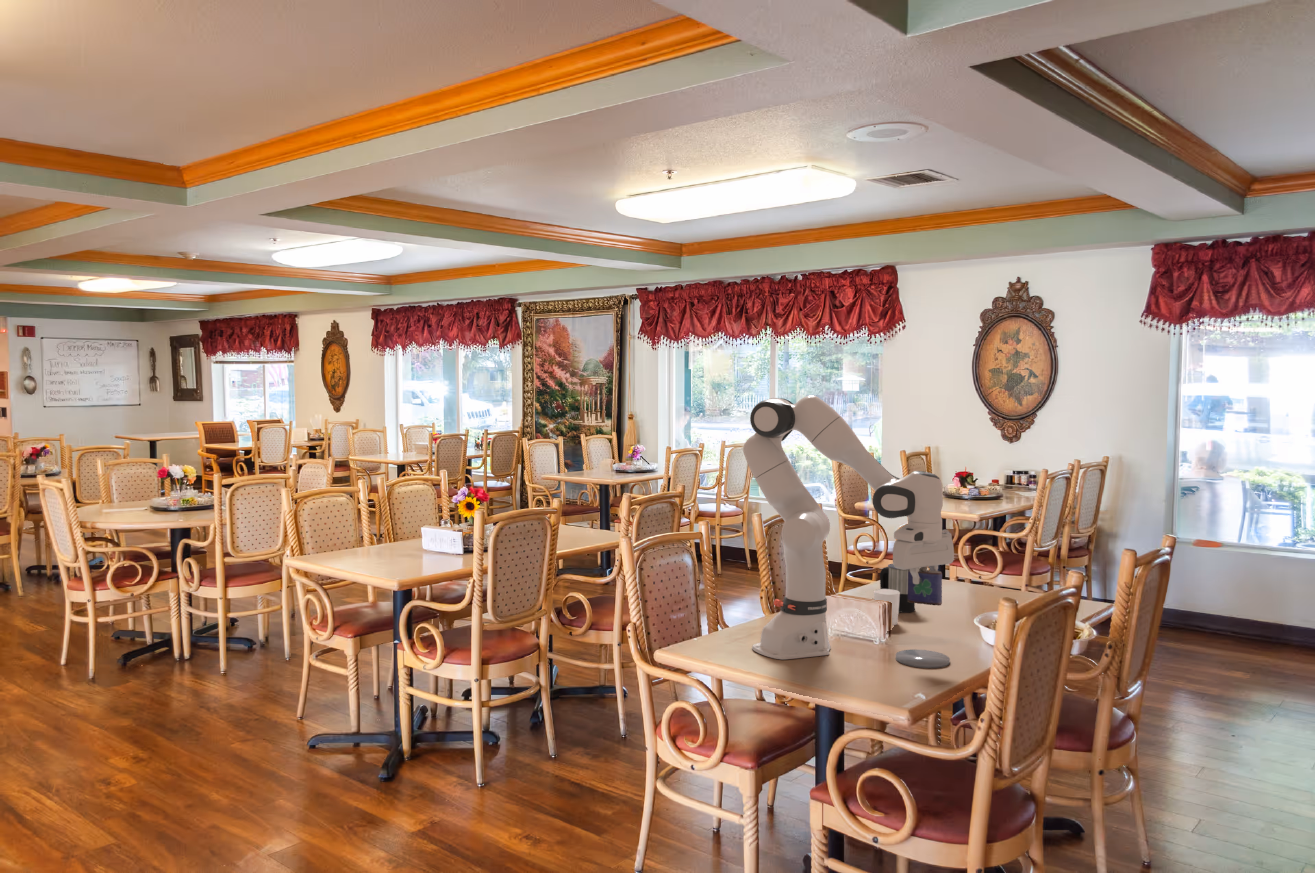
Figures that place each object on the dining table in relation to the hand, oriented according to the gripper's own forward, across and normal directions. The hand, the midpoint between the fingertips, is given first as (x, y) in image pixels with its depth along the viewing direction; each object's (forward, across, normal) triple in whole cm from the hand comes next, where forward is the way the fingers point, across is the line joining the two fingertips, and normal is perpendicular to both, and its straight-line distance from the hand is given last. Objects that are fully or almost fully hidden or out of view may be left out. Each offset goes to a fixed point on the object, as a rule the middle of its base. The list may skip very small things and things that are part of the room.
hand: (923, 582), depth 247 cm
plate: (+21, 0, 0) cm, 21 cm away
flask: (+6, 0, 0) cm, 6 cm away
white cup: (+21, -21, -33) cm, 45 cm away
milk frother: (+21, -35, -45) cm, 61 cm away
